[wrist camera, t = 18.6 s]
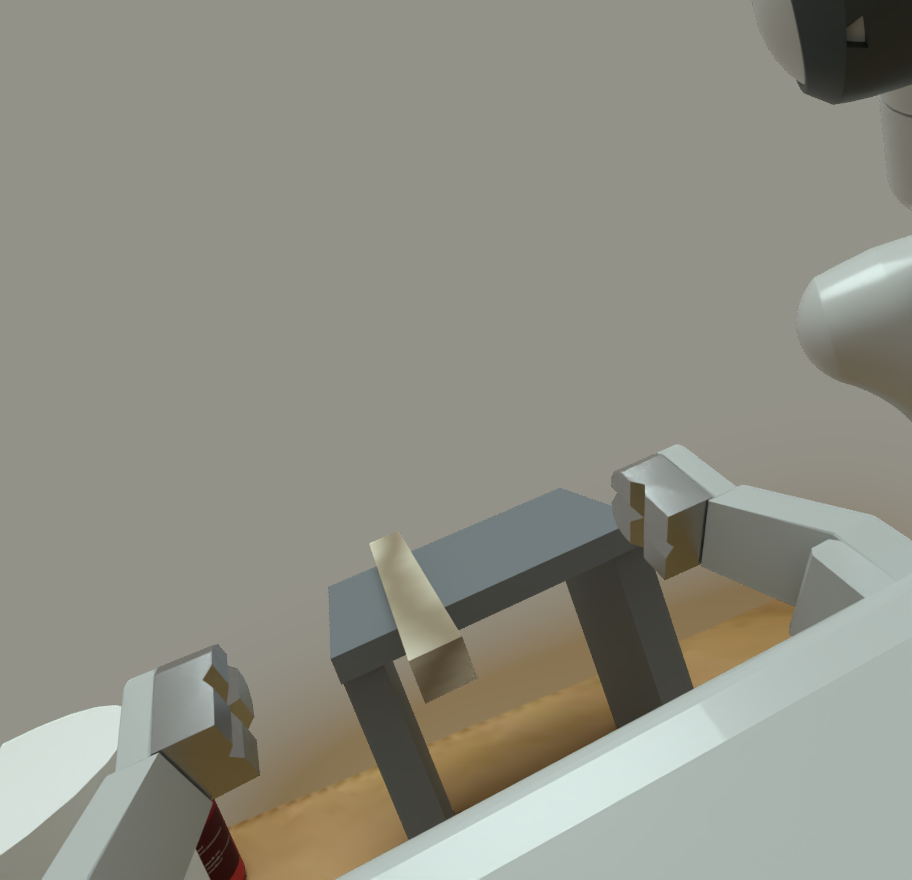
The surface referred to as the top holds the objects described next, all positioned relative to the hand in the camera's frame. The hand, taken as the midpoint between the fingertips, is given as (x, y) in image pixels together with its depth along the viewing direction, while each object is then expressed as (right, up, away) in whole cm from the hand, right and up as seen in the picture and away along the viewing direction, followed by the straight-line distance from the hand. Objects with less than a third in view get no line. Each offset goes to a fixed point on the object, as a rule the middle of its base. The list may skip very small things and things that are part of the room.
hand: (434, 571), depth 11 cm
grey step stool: (+10, -32, +42) cm, 53 cm away
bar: (-3, -10, +32) cm, 33 cm away
